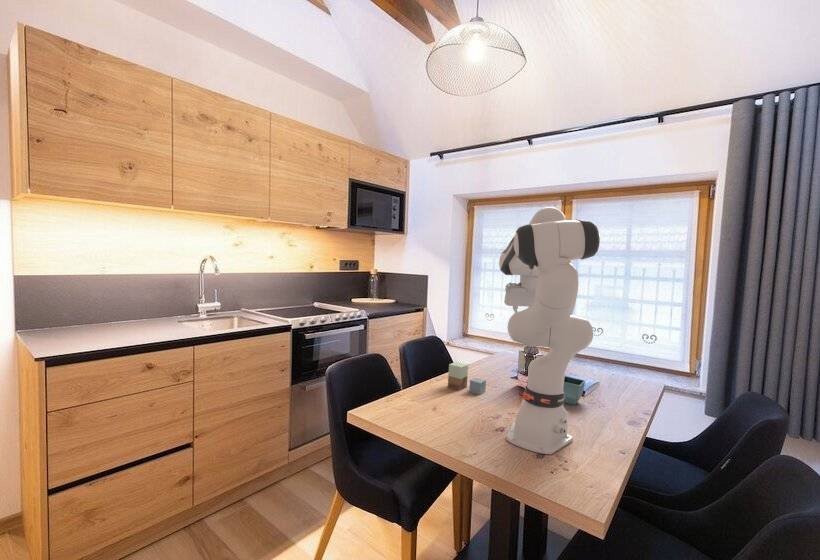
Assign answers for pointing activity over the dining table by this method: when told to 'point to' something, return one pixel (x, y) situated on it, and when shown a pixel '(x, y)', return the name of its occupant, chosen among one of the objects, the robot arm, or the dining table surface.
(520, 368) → the candy bar box
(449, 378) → the walnut block
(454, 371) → the sage block
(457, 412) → the dining table surface
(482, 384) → the slate cube
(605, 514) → the dining table surface
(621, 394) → the dining table surface
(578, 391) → the flower pot
